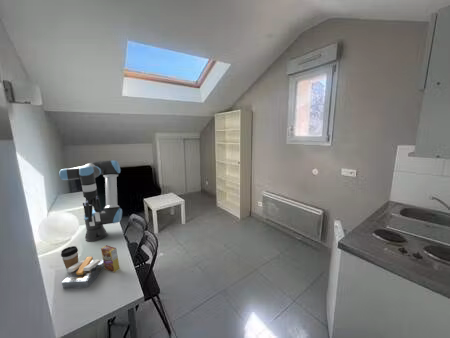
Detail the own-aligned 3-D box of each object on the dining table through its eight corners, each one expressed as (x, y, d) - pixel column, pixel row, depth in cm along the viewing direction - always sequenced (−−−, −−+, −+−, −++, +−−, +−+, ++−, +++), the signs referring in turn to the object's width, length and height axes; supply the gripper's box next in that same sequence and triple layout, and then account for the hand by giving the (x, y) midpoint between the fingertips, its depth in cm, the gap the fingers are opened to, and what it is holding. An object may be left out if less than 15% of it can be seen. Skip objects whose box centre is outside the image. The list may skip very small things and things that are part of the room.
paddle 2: (95, 262, 123) (95, 259, 123) (100, 262, 123) (100, 259, 123) (83, 271, 112) (83, 267, 112) (89, 270, 112) (89, 267, 112)
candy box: (104, 269, 123) (100, 248, 120) (110, 265, 127) (106, 244, 124) (114, 273, 120) (110, 251, 117) (119, 268, 124) (116, 247, 121)
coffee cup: (72, 275, 119) (67, 254, 116) (61, 273, 120) (56, 252, 117) (84, 266, 127) (80, 245, 124) (74, 264, 128) (69, 244, 125)
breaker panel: (84, 266, 127) (83, 259, 126) (106, 265, 127) (104, 258, 126) (63, 288, 109) (61, 280, 108) (88, 286, 110) (86, 279, 109)
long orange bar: (87, 258, 123) (86, 256, 122) (93, 258, 123) (92, 256, 122) (77, 274, 113) (75, 273, 112) (82, 274, 113) (81, 272, 112)
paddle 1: (80, 263, 123) (80, 260, 123) (86, 263, 123) (86, 260, 123) (67, 271, 112) (67, 268, 112) (73, 271, 112) (73, 268, 112)
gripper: (92, 186, 133) (97, 217, 137) (73, 195, 115) (79, 230, 119) (104, 186, 133) (108, 217, 138) (86, 194, 115) (92, 230, 120)
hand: (95, 223), depth 129 cm, fingers open, 6 cm apart
